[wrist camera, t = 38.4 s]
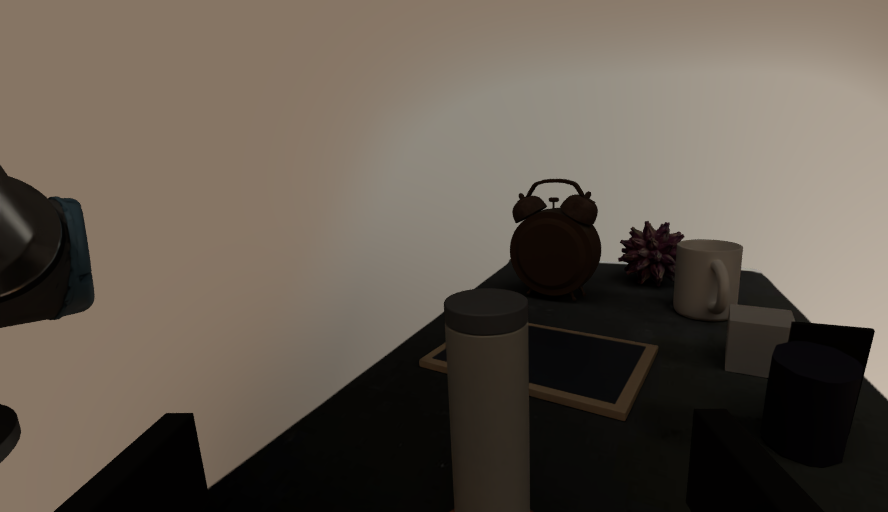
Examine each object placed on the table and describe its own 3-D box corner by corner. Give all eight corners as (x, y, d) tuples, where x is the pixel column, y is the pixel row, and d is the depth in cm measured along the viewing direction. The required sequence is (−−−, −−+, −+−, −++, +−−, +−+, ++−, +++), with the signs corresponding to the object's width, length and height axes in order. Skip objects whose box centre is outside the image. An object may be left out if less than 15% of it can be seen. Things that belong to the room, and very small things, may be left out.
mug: (755, 334, 61) (764, 258, 58) (686, 331, 63) (691, 257, 60) (725, 304, 72) (731, 239, 70) (667, 302, 74) (671, 239, 72)
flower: (623, 281, 91) (690, 272, 87) (624, 298, 80) (701, 288, 76) (612, 224, 90) (679, 211, 86) (612, 233, 79) (689, 219, 75)
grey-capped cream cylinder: (445, 614, 26) (427, 306, 22) (481, 561, 29) (470, 284, 25) (511, 654, 24) (504, 320, 19) (541, 591, 27) (541, 293, 23)
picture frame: (419, 366, 57) (418, 359, 56) (486, 320, 70) (485, 314, 70) (625, 421, 43) (625, 412, 43) (657, 352, 57) (658, 344, 57)
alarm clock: (603, 295, 79) (607, 176, 75) (591, 308, 73) (594, 180, 69) (523, 285, 87) (522, 177, 82) (507, 296, 81) (505, 180, 77)
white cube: (724, 371, 52) (729, 320, 51) (725, 350, 57) (729, 303, 56) (791, 382, 49) (798, 328, 48) (785, 359, 54) (791, 310, 53)
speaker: (770, 407, 44) (787, 308, 41) (849, 433, 40) (875, 327, 37) (748, 452, 39) (766, 344, 36) (836, 487, 35) (865, 369, 32)
